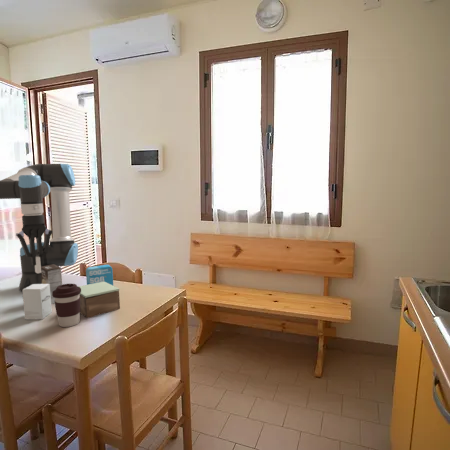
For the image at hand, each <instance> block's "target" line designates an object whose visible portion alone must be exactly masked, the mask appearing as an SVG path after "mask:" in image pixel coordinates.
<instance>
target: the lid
mask: <svg viewBox="0 0 450 450" xmlns="http://www.w3.org/2000/svg"><path fill="white" fill-rule="evenodd" d="M77 286H78V287H80V288H81V293H80V295H81V296H83V297H85V298H87V297H91V296H96V295H101V294H105V293H110V292H114V291H119V292H120V288H119V287H117V286H115V285H114V284H113V285H111V284H109V283H107V282H99V283H94V284H88V285H87V284H84V285H77Z"/></svg>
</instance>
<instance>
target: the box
mask: <svg viewBox="0 0 450 450" xmlns="http://www.w3.org/2000/svg"><path fill="white" fill-rule="evenodd" d="M120 309H121V301H120V290H119V291H114V292H110V293H105V294H101V295H96V296H91V297H87V298H85V297H83V296H81V295H80V315H82V316H84V317H85V318H87V319H90V318H93V317H96V316H99V315H102V314H103V315H104V314H107V313H109V312H110V313H111V312H113V311H114V312H115V311H117V310H120Z"/></svg>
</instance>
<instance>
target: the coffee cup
mask: <svg viewBox="0 0 450 450" xmlns="http://www.w3.org/2000/svg"><path fill="white" fill-rule="evenodd" d="M78 286H79V285H77V284H75V283H64V284H63V283H62V285H60V286H58V287H57V288H56V290H54V291H53V292H52V296H53V297H54V298H55V303H54V306H55V312H56V313H55V314H56V317H57V321H58V325H59V326H60V327H61V328H68V327H69V328H70V327H73V326H76V325H78V324H79V323H80V320H81V319H80V318H81V317H80V315H81V313H80V293H81V288H80V287H78Z"/></svg>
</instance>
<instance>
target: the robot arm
mask: <svg viewBox="0 0 450 450" xmlns="http://www.w3.org/2000/svg"><path fill="white" fill-rule="evenodd" d="M74 186H76V177H75V174H74V170H73V167H72V166H71V165H70V164H68V163H36V164H31V165H28V166H26V167H23V168H21V169H19V170H18V171H17V173H15V174H12V175H10V176H8V177H6V178H3V179H1V180H0V200H13V199H14V200H15V199H16V200H17V199H19V200H20V210H21V214H22V216H21V219H22V228H21V231H20V232H17V233H15V236H16V238H17V239H19V242H20V245H21V247H20V248H19V259H20V266H21V267H20V268H21V277H20V281H19V285H18V289H19V291H20V292H21V293H23V291H22V290H23V289H25V288H27V287H29V286H30V285H32V284H42V282H41V267H42V266H47V265H52V264H55V265H57V266H59V267H69V266H74V265H75V264H76V263H77V259H78V254H79V245H78V243H77V242H75V239H74V238H73V237H72V231H71V230H72V227H71V209H70V208H71V207H70V206H71V205H70V192H71V191H73V187H74ZM48 195H50V197H51V198H50V199H51V201H50V202H51V221H52V222H51V224H52V225H51V227H52V229H51V230H50V229H48V228H47V226H46V224H45V215H44V202H43V201H44V200H43V199H44V198H46V197H48ZM44 234H45V235H44ZM43 235H44V241H42V240H43V238H42V236H43ZM24 236H26V237H27V238H28V242H29V243H28V244H27V242H26V239H25V238H24ZM51 236H52V238H51ZM35 240H36V241H35Z"/></svg>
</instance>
